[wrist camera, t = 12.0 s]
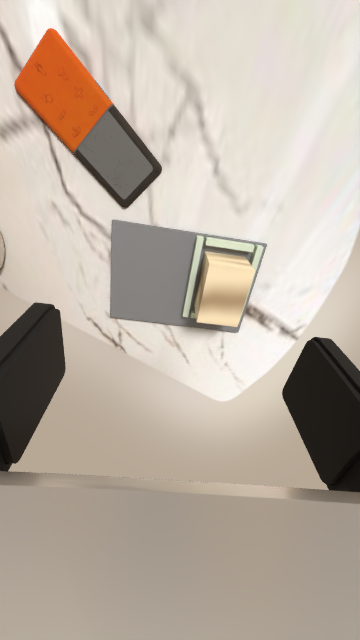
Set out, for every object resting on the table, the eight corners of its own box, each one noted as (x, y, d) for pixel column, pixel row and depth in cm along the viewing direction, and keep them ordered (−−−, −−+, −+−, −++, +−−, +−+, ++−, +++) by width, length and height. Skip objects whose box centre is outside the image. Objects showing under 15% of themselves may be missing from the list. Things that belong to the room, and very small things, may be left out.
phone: (48, 21, 23) (164, 169, 29) (54, 27, 24) (164, 169, 30) (9, 84, 25) (124, 210, 31) (16, 88, 26) (126, 208, 32)
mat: (111, 315, 39) (108, 320, 38) (112, 219, 32) (110, 221, 31) (237, 330, 41) (239, 336, 40) (265, 243, 34) (269, 246, 33)
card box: (205, 251, 34) (209, 263, 30) (245, 257, 34) (255, 270, 30) (194, 304, 38) (196, 322, 34) (230, 308, 38) (237, 327, 34)
